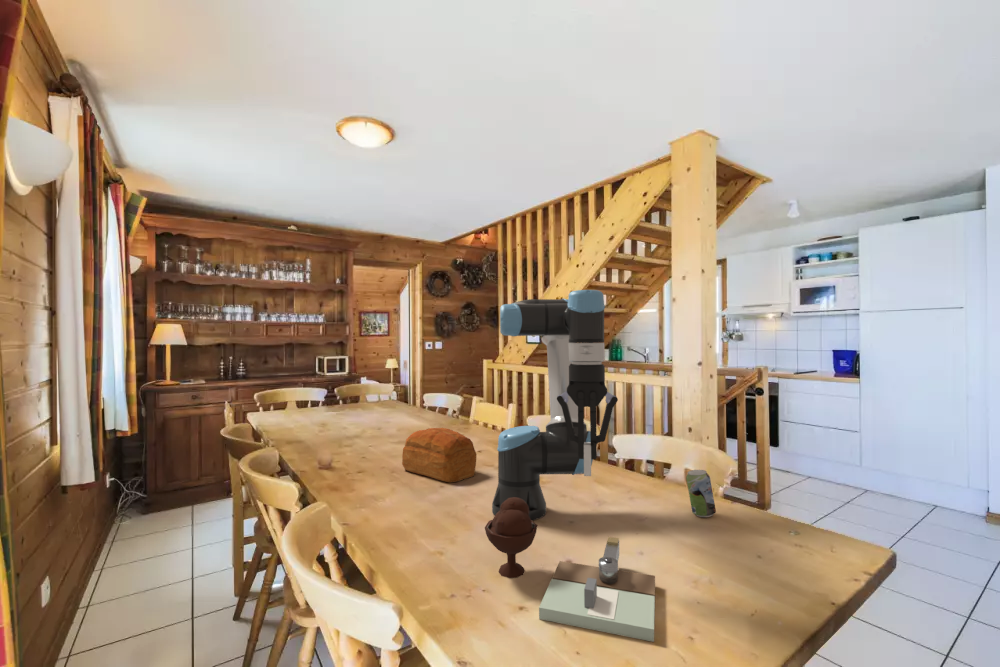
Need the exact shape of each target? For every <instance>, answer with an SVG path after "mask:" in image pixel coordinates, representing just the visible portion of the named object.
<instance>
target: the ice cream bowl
mask: <svg viewBox="0 0 1000 667" xmlns="http://www.w3.org/2000/svg"><path fill="white" fill-rule="evenodd" d="M537 530H538V524H537V523H536V522H535V521H534V520H531V519H530V517H529V506H528V505H527V503H526V502H525V501H524V500H523V499H521V498H517V497H512V498H508V499H507V500H505V501H504V502H503V503H502V504H501V506H500V511H499V512H498V513H496V515H493V518H492V519H491V520H488V521H487V523H486V525H485V526H484V531H485V534H486V538H487V539H488V541H489V542H490V543H491V544H492V546H493V547H494V548H495V549H497V550H498V551H499V552H501V553H504V554H506V555H507V557H506V558H507V561H506V562H505V563H503V564H501V565H500V567H499V569H498V574H499V575H500V576H501V577H504V578H507V579H518V578H519V577H520V578H521V577H522V576H524V574H525V571H526V570H525V567H523V566H522V564H520V563H518V562H516V561H517V559H516V555H517V554H519V553H522V552H524V551H526V550H527V549H528V548H529V547H530V546H531V545H532V544H533V542H534V540H535V537H536V534H537Z"/></svg>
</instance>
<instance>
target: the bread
mask: <svg viewBox="0 0 1000 667" xmlns="http://www.w3.org/2000/svg"><path fill="white" fill-rule="evenodd" d="M401 459H402V462H401V464H402V466H403V468H404V470H405V471H407V472H410V473H414V474H418V475H422V476H425V477H428V478H431V479H435V480H437V481H441V482H446V483H456V482H457V483H458V482H460V481H463V479H464V480H467V479H469V478H472V477H474V476H475V475H476V466H477V452H476V450H475V446H474V443H473V441H472V440H471V439H470V438H469V437H466V436H465V435H464V434H462V433H459V431H456V430H453V429H450V428H447V427H446V428H445V427H431V428H429V427H428V428H426V429H421V430H419V429H418V430H417V431H413V433H411V434H410V435H409V436H407V438H406V439H405V444H404V447H403V449H402V454H401Z"/></svg>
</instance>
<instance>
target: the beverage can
mask: <svg viewBox="0 0 1000 667" xmlns="http://www.w3.org/2000/svg"><path fill="white" fill-rule="evenodd" d="M707 472H708V471H706V470H704V469H693V470H689V471H687V474H686V477H685V479H686V484H687V490H688V495H689V496H688V497H689V501H690V507H691V512H692V514H694V515H695V516H697V517H700V518H710V517H713V516H714V515H715V514H716V512H717V510H716V509H717V508H716V504H715V498H714V493H713V488H712V481H711V477H710V475H709V474H708V473H707Z"/></svg>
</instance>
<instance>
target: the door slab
mask: <svg viewBox="0 0 1000 667" xmlns="http://www.w3.org/2000/svg"><path fill="white" fill-rule="evenodd" d="M655 605H656V595H655V596H651V595H645V594H639V593H633V592H627V591H621V590H615V589H609V588H603V587H597V579H593V578H587V582H586V584H580V583H574V582H568V581H562V580H556V579H552V578H551V579H550V582H549V583H548V586H547V589H546V591H545V593H544V596H543V597H542V600H541V602H540V604H539V607H538V619H539V620H542V621H547V622H551V623H552V622H553V623H557V624H562V625H567V626H572V627H577V628H583V629H588V630H593V631H598V632H603V633H608V634H613V635H619V636H621V637H622V636H623V637H628V638H633V639H636V640H637V639H638V640H643V641H647V642H653V643H654V642H655V611H656V608H655V607H656V606H655Z"/></svg>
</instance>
